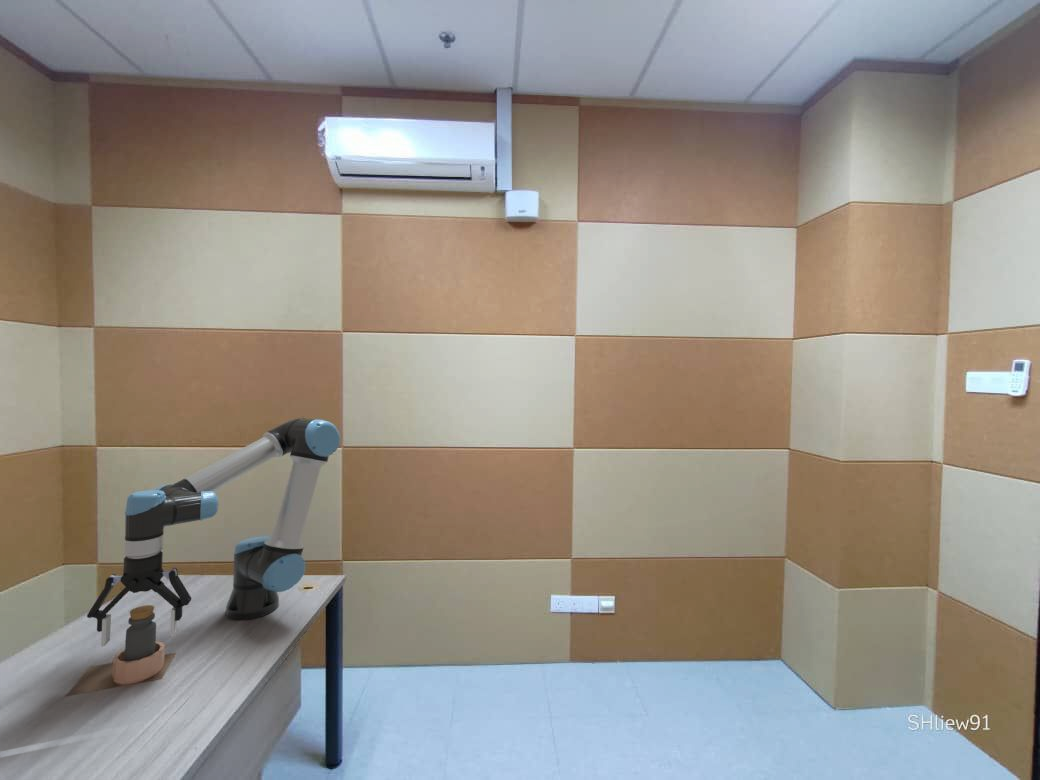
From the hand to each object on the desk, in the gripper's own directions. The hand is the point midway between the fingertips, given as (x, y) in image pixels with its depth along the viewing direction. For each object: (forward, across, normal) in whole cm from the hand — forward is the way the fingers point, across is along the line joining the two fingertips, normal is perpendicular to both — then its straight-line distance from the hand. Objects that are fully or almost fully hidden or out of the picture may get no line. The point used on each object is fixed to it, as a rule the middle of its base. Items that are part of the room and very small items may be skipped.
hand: (140, 638), depth 113 cm
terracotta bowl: (+8, 0, 0) cm, 8 cm away
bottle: (+8, 0, 0) cm, 8 cm away
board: (+10, +3, -1) cm, 10 cm away
